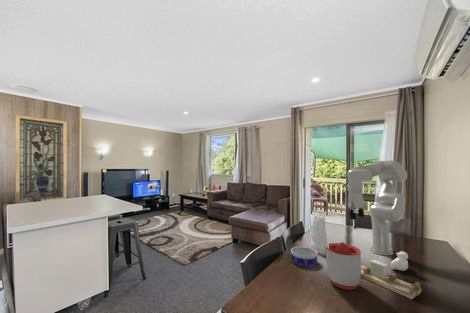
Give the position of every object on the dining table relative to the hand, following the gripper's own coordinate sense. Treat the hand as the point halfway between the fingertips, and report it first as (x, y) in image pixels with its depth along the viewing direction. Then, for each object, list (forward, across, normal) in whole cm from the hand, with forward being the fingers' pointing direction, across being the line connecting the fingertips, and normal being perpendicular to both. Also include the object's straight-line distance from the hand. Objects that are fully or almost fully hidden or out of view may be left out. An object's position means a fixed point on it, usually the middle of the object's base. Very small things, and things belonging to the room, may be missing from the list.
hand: (357, 217), depth 129 cm
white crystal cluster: (+26, +7, -23) cm, 35 cm away
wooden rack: (+25, +15, +17) cm, 34 cm away
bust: (+26, -8, +18) cm, 33 cm away
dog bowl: (+25, +29, -18) cm, 42 cm away
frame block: (+24, +15, +17) cm, 33 cm away
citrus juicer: (+25, +34, +8) cm, 43 cm away
